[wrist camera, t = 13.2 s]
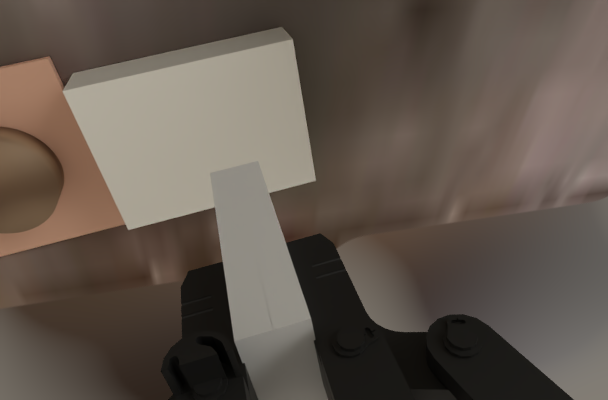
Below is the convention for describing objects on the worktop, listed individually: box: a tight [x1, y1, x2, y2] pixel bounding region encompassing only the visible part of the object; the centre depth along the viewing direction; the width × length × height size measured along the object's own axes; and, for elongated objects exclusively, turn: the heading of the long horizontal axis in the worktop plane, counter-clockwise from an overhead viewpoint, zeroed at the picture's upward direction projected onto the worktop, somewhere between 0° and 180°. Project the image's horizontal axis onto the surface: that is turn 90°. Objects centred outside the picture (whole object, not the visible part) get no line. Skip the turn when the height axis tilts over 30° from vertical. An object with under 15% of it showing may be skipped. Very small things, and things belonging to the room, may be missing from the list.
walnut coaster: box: [0, 127, 64, 234], centre depth 35 cm, size 8×8×2 cm
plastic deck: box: [63, 27, 316, 230], centre depth 37 cm, size 12×16×4 cm
